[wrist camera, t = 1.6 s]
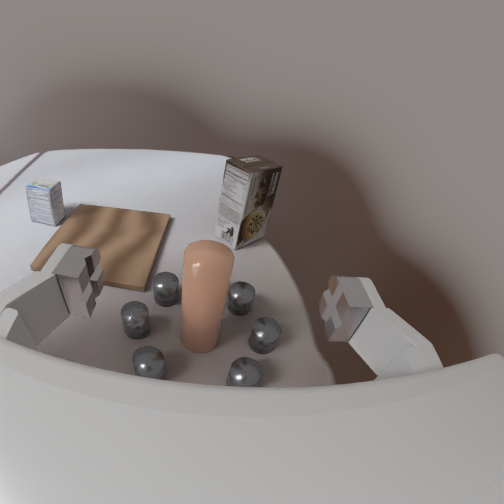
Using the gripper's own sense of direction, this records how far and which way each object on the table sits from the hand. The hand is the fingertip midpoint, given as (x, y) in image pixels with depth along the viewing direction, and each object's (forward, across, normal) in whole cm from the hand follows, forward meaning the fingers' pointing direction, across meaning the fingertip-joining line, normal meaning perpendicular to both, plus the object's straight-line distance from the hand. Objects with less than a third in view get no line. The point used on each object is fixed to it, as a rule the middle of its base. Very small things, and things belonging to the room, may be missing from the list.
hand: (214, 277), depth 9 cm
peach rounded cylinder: (+15, 0, +24) cm, 29 cm away
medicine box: (+38, +37, +24) cm, 59 cm away
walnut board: (+33, +20, +24) cm, 46 cm away
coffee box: (+41, -6, +24) cm, 48 cm away
